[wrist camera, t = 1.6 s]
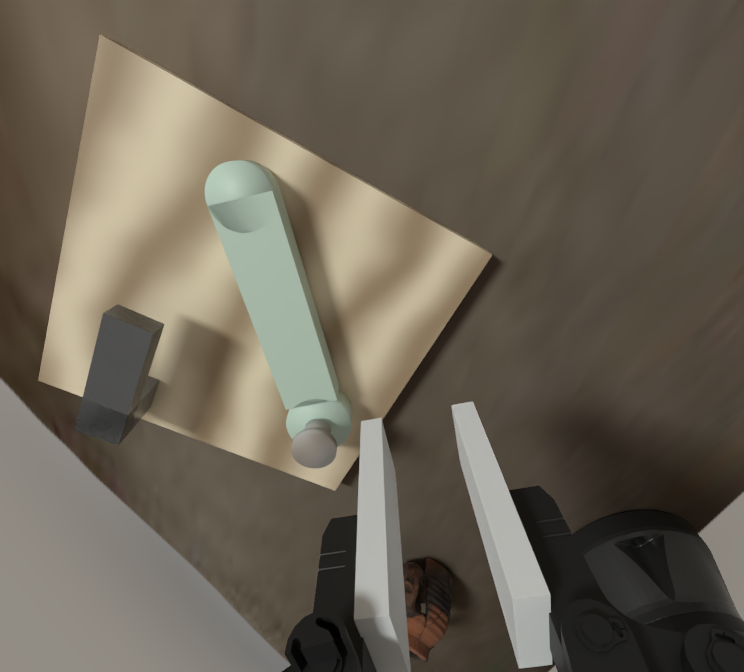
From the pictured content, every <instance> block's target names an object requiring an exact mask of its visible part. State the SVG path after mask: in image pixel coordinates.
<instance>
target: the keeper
mask: <svg viewBox="0 0 744 672" xmlns="http://www.w3.org/2000/svg"><path fill="white" fill-rule="evenodd" d="M163 327H164V324H163V323H161V322H159V321H156V320H154V319H152V318H149V317H147V316H145V315H142V314H140V313H138V312H135V311H133V310H131V309H128V308H126V307H123V306H121V305H119V304H117V305H115V306H114V307H112V308H111V309H109V310H107V311H106V312H104V313H103V315H102V320H101V324H100V328H99V332H98V336H97V340H96V344H95V349H94V353H93V357H92V361H91V365H90V369H89V373H88V377H87V382H86V386H85V390H84V394H83V398H82V402H81V406H80V411H79V415H78V419H77V423H76V427H75V430H76V431H79V432H82V433H85V434H88V435H91V436H93V437H96V438H99V439H102V440H105V441H108V442H110V443H113V444H116V445H119V444H120V443H121V442H122V440H123V439H124V438H125V437H126V436H127V435H128V433H129V432H130V431H131V430H132V429H133V428H134V426H135V425H136V424H137V423H138V422H139V420H140V419H141V418H142V417H143V416H144V415H145V413H146V412H147V411H148V410H149V409H150V408H151V405H152V402H153V399H154V396H155V393H156V390H157V387H158V384H159V381H160V380H158V379H156V378H153V377H151V376H148V374H149V371H150V368H151V365H152V362H153V359H154V355H155V352H156V349H157V346H158V343H159V340H160V337H161V334H162V331H163Z"/></svg>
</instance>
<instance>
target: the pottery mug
mask: <svg viewBox="0 0 744 672" xmlns="http://www.w3.org/2000/svg"><path fill="white" fill-rule="evenodd" d="M403 577H404V590H405V603H406V617H407V630H408V643H409V656H410V658H413V659H415V660H418V661H423V662H427V661H428V655H429V651H430V649H432V648H433V647H434V646H435V645H436V644H437V643H438V642H440V640H441V639H442V638H443V637H444V635H445V632H446V630H447V621H449V617H450V610H451V601H452V597H453V596H452V577H451V575H450V574H449V572H448V571H447V570H446V569H445V568H444V567H443V566H441V565H440V564H439V563H437V562H435V561H434V560H432V559H430V558H426V560H425V569H424V572H423V570H422V569H421V567H420V566H419V565H418V564H416V563H415V562H407V563H403ZM421 603H426V613H425V614H424V613H422V612H421Z"/></svg>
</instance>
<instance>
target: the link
mask: <svg viewBox="0 0 744 672" xmlns="http://www.w3.org/2000/svg"><path fill="white" fill-rule="evenodd" d="M205 200H206V203H207V206H208V209H209V212H210V214H211V217H212V219H213V222H214V225H215V227H216V230H217V232H218V235H219V238H220V240H221V243H222V245H223V248H224V251H225V253H226V256H227V258H228V261H229V264H230V266H231V269H232V271H233V274H234V277H235V279H236V282H237V284H238V287H239V290H240V292H241V295H242V297H243V300H244V303H245V305H246V308H247V310H248V313H249V316H250V318H251V321H252V323H253V326H254V328H255V331H256V334H257V336H258V339H259V341H260V344H261V347H262V349H263V352H264V354H265V357H266V360H267V362H268V365H269V367H270V370H271V373H272V375H273V378H274V380H275V383H276V386H277V388H278V391H279V393H280V396H281V399H282V401H283V404H284V406H285V409H286V410H287V409H289V412H288V415H287V419H286V428H287V431H288V433H289V435H290V437H291V438H292V439H294V437H295V436H296V435H297V434H298V433H299V432H300V431H302V430H304V429H305V425H306V423H307V422H308V421H310V420H312V419H322V420H325V421H326V422H328V423H329V425H330V427H331V435H332V436H333V437H334V438H335V440H336V442H337V447H338V446H340V445H341V444H342V443H344V442H345V441H346V439H347V438H348V436H349V434H350V431H351V421H352V406H351V403H350V400H349V399H348V397H347V396H346V395H345V394H344V393H343V392H342V391H341V390H339V383H338V380H337V376H336V373H335V370H334V366H333V363H332V360H331V357H330V353H329V350H328V347H327V343H326V340H325V337H324V333H323V330H322V327H321V323H320V320H319V317H318V313H317V310H316V307H315V303H314V300H313V297H312V293H311V290H310V287H309V283H308V280H307V277H306V273H305V270H304V267H303V264H302V260H301V257H300V254H299V250H298V247H297V244H296V240H295V237H294V234H293V230H292V227H291V224H290V220H289V217H288V214H287V210H286V207H285V204H284V200H283V197H282V194H281V190H280V187H279V184H278V182H277V180H276V178H275V177H274V175H273V174H272V173H271V172H270V171H269V170H268V169H267V168H266V167H264V166H263V165H261V164H260V163H257V162H255V161H251V160H236V161H228V162H224V163H222V164H220V165H218V166H217V167H215V168H214V169H213V170H212V171H211V173H210V174H209V176H208V178H207V181H206V184H205Z"/></svg>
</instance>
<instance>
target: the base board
mask: <svg viewBox="0 0 744 672" xmlns="http://www.w3.org/2000/svg"><path fill="white" fill-rule="evenodd" d="M236 160H251V161H255V162H257V163H260V164H261V165H263V166H264V167H266V168H267V169H268V170H269V171H270V172H271V173H272V174H273V175H274V177H275V178H276V180H277V182H278V184H279V187H280V190H281V194H282V197H283V200H284V204H285V207H286V210H287V214H288V217H289V220H290V224H291V227H292V230H293V234H294V237H295V240H296V244H297V247H298V250H299V254H300V257H301V260H302V264H303V267H304V270H305V273H306V277H307V280H308V283H309V287H310V290H311V293H312V297H313V300H314V303H315V307H316V310H317V313H318V317H319V320H320V323H321V327H322V330H323V333H324V337H325V340H326V343H327V347H328V350H329V353H330V357H331V360H332V363H333V366H334V370H335V373H336V376H337V380H338V383H339V390H341V391H342V392H343V393H344V394H345V395H346V396H347V397H348V399H349V400H350V403H351V406H352V421H351V431H350V434H349V436H348V438H347V439H346V441H345V442H344V443H342V444H341V445H340V446H338V447H337V442H336V440H335V438H334V437H333V436H332V435H331V427H330V425H329V423H328V422H326V421H325V420H322V419H312V420H310V421H308V422H307V423H306V425H305V429H304V430H302V431H300V432H299V433H298V434H297V435H296V436H295V437H294V439H292V438H291V437H290V435H289V433H288V431H287V428H286V419H287V415H288V412H289V409H287V410H286V409H285V406H284V404H283V401H282V399H281V396H280V393H279V391H278V388H277V386H276V383H275V380H274V378H273V375H272V373H271V370H270V367H269V365H268V362H267V360H266V357H265V354H264V352H263V349H262V347H261V344H260V341H259V339H258V336H257V334H256V331H255V328H254V326H253V323H252V321H251V318H250V316H249V313H248V310H247V308H246V305H245V303H244V300H243V297H242V295H241V292H240V290H239V287H238V284H237V282H236V279H235V277H234V274H233V271H232V269H231V266H230V264H229V261H228V258H227V256H226V253H225V251H224V248H223V245H222V243H221V240H220V238H219V235H218V232H217V230H216V227H215V225H214V222H213V219H212V217H211V214H210V212H209V209H208V206H207V203H206V200H205V184H206V181H207V178H208V176H209V174H210V173H211V171H212V170H213V169H214V168H215V167H217V166H218V165H220V164H222V163H224V162H228V161H236ZM491 256H492V254H491V253H490V252H489V251H488V250H487V249H485V248H483V247H481V246H479V245H478V244H476V243H474V242H472V241H471V240H469V239H467V238H465V237H463V236H462V235H460V234H458V233H456V232H455V231H453V230H451V229H449V228H447V227H446V226H444V225H442V224H440V223H439V222H437V221H435V220H433V219H431V218H430V217H428V216H426V215H424V214H423V213H421V212H419V211H417V210H415V209H414V208H412V207H410V206H408V205H407V204H405V203H403V202H401V201H399V200H398V199H396V198H394V197H392V196H391V195H389V194H387V193H385V192H383V191H382V190H380V189H378V188H376V187H375V186H373V185H371V184H369V183H367V182H366V181H364V180H362V179H360V178H359V177H357V176H355V175H353V174H351V173H350V172H348V171H346V170H344V169H343V168H341V167H339V166H337V165H336V164H334V163H332V162H330V161H328V160H327V159H325V158H323V157H321V156H320V155H318V154H316V153H314V152H312V151H311V150H309V149H307V148H305V147H304V146H302V145H300V144H298V143H296V142H295V141H293V140H291V139H289V138H288V137H286V136H284V135H282V134H280V133H279V132H277V131H275V130H273V129H272V128H270V127H268V126H266V125H264V124H263V123H261V122H259V121H257V120H256V119H254V118H252V117H250V116H248V115H247V114H245V113H243V112H241V111H240V110H238V109H236V108H234V107H232V106H231V105H229V104H227V103H225V102H224V101H222V100H220V99H218V98H216V97H215V96H213V95H211V94H209V93H208V92H206V91H204V90H202V89H200V88H199V87H197V86H195V85H193V84H192V83H190V82H188V81H186V80H184V79H183V78H181V77H179V76H177V75H176V74H174V73H172V72H170V71H168V70H167V69H165V68H163V67H161V66H160V65H158V64H156V63H154V62H152V61H151V60H149V59H147V58H145V57H144V56H142V55H140V54H138V53H136V52H135V51H133V50H131V49H129V48H128V47H126V46H124V45H122V44H120V43H119V42H117V41H115V40H112V39H110V38H108V37H105V36H103V35H101V34H100V36H99V42H98V47H97V53H96V59H95V64H94V70H93V76H92V81H91V87H90V92H89V98H88V104H87V109H86V115H85V121H84V126H83V132H82V137H81V143H80V149H79V154H78V160H77V165H76V171H75V177H74V182H73V188H72V194H71V199H70V205H69V210H68V216H67V222H66V227H65V233H64V239H63V244H62V250H61V255H60V261H59V267H58V272H57V278H56V284H55V289H54V295H53V300H52V306H51V312H50V317H49V323H48V328H47V334H46V340H45V345H44V351H43V357H42V362H41V368H40V373H39V379H38V381H41V382H44V383H46V384H49V385H52V386H54V387H57V388H60V389H63V390H65V391H68V392H71V393H73V394H76V395H79V396H81V397H83V394H84V390H85V386H86V382H87V377H88V373H89V369H90V365H91V361H92V357H93V353H94V349H95V344H96V340H97V336H98V332H99V328H100V324H101V320H102V315H103V313H104V312H106V311H107V310H109V309H111V308H112V307H114V306H115V305H117V304H119V305H121V306H123V307H126V308H128V309H131V310H133V311H135V312H138V313H140V314H142V315H145V316H147V317H149V318H152V319H154V320H156V321H159V322H161V323H163V324H164V327H163V331H162V334H161V337H160V340H159V343H158V346H157V349H156V352H155V355H154V359H153V362H152V365H151V368H150V371H149V374H148V376H151V377H153V378H156V379H158V380H160V381H159V384H158V387H157V390H156V393H155V396H154V399H153V402H152V405H151V408H150V409H149V410H148V411H147V412H146V413H145V415H144V416H143V417H142V418H141V419H143V420H146V421H149V422H151V423H154V424H157V425H160V426H162V427H165V428H168V429H170V430H173V431H176V432H178V433H181V434H184V435H186V436H189V437H192V438H195V439H197V440H200V441H203V442H205V443H208V444H211V445H213V446H216V447H219V448H221V449H224V450H227V451H230V452H232V453H235V454H238V455H240V456H243V457H246V458H248V459H251V460H254V461H257V462H259V463H262V464H265V465H267V466H270V467H273V468H275V469H278V470H281V471H283V472H286V473H289V474H292V475H294V476H297V477H300V478H302V479H305V480H308V481H310V482H313V483H316V484H318V485H321V486H324V487H327V488H329V489H332V490H336V489H337V487H338V486H339V484H340V483H341V481H342V480H343V478H344V477H345V475H346V474H347V472H348V471H349V469H350V468H351V466H352V465H353V463H354V462H355V460H356V459H357V457H358V456H359V454H360V433H361V421H365V420H371V419H376V418H382V420H383V418H384V417H385V415H386V414H387V412H388V411H389V409H390V408H391V406H392V405H393V403H394V402H395V400H396V399H397V397H398V396H399V394H400V393H401V391H402V390H403V388H404V387H405V385H406V384H407V382H408V381H409V379H410V378H411V376H412V375H413V373H414V372H415V370H416V369H417V367H418V366H419V364H420V363H421V361H422V360H423V358H424V357H425V355H426V354H427V352H428V351H429V349H430V348H431V346H432V345H433V343H434V342H435V340H436V339H437V337H438V336H439V334H440V333H441V331H442V330H443V328H444V327H445V325H446V324H447V322H448V321H449V319H450V318H451V316H452V315H453V313H454V312H455V310H456V309H457V307H458V306H459V304H460V303H461V301H462V300H463V298H464V297H465V295H466V294H467V292H468V291H469V289H470V288H471V286H472V285H473V283H474V282H475V280H476V279H477V277H478V276H479V274H480V273H481V271H482V270H483V268H484V267H485V265H486V264H487V262H488V261H489V259H490V258H491Z"/></svg>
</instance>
